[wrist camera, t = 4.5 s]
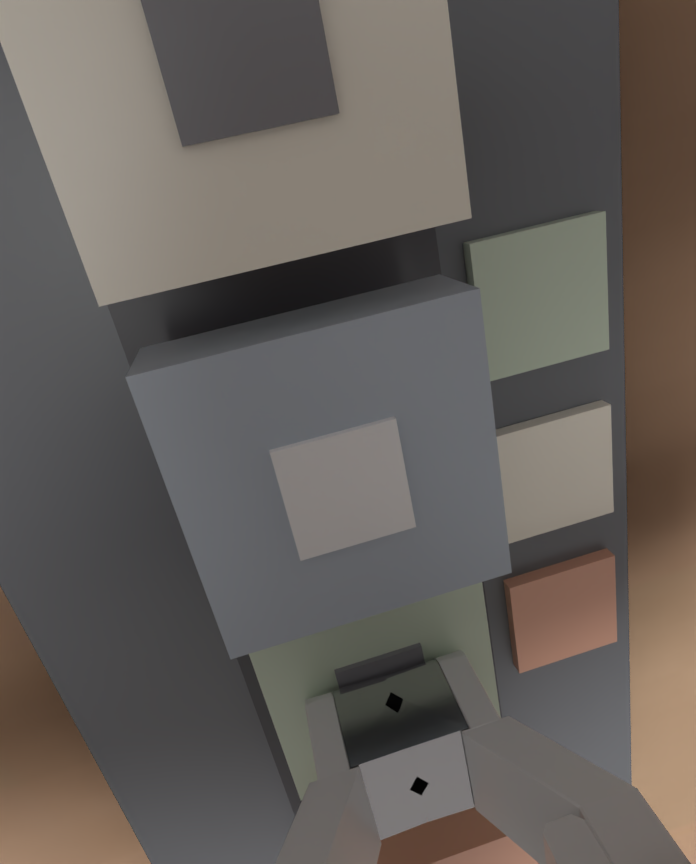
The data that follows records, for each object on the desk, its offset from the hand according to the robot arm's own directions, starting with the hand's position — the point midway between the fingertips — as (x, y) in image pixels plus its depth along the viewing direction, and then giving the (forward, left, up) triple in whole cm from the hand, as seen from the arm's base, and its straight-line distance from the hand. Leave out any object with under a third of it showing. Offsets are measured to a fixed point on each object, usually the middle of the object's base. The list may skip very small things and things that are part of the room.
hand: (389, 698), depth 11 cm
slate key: (-5, 0, 0) cm, 5 cm away
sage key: (0, 0, -2) cm, 2 cm away
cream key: (-10, 0, 0) cm, 10 cm away
